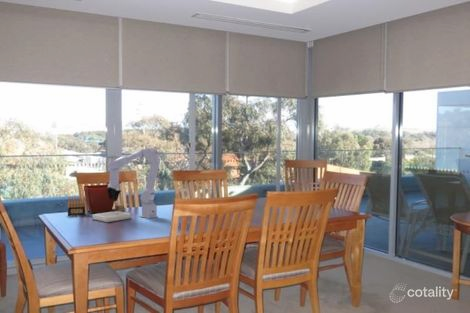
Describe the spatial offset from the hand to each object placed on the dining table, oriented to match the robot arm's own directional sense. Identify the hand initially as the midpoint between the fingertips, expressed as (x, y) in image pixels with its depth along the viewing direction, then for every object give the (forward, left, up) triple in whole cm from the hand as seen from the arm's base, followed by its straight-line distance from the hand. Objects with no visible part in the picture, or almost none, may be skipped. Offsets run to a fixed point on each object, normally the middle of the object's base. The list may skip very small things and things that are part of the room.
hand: (113, 199), depth 294 cm
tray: (-10, +9, -10) cm, 17 cm away
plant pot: (+20, -3, -10) cm, 22 cm away
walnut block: (-2, -3, -10) cm, 11 cm away
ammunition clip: (+18, +16, -10) cm, 26 cm away
